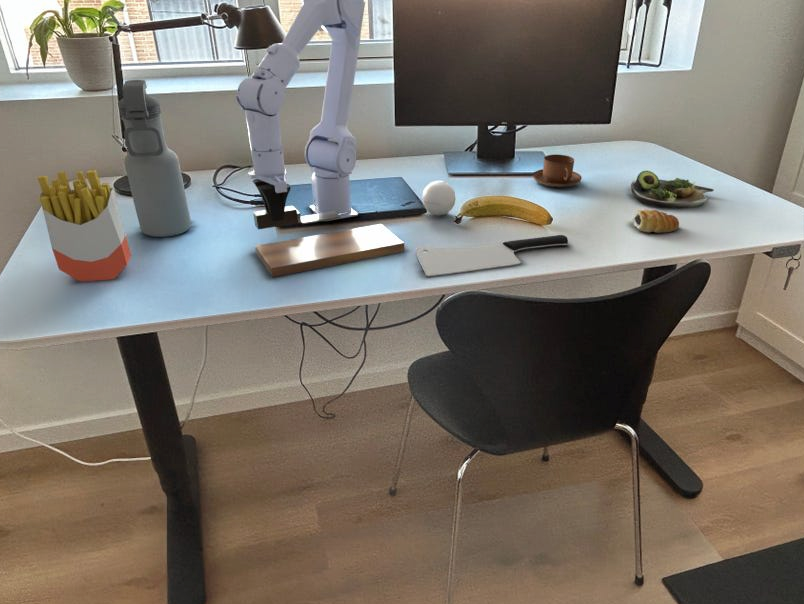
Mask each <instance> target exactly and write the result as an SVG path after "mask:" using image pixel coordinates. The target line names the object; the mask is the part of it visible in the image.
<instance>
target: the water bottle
mask: <svg viewBox="0 0 804 604" xmlns="http://www.w3.org/2000/svg"><path fill="white" fill-rule="evenodd" d="M147 86H148V85H147V82H146V80H145V79H130V80H125V81H124V83H123V85H122V97H123V98H121V99H119V101H117V107H118V110H119V113H120V116H121V118H120V119H121V120H122V121H123V125H124V129H125V130H124V131H123V137H124V138H123V139H124V141H125V145H126V146H125V147H126V150H127V152H128V153H127V154H126V155H125V157H124V160H123V163H124V168H125V172H126V176H127V180H128V186H129V188H130V192H131V196H132V201H133V204H134V208H135V214H136V217H137V220H138V224H139V229H140V231H141V232H142V233H143V234H144V235H146V236H149V237H153V238H154V237H155V238H168V237H175V236H178V235H181V234H183V233H185V232H187V231H189V229H190V228H191V227H192V219H191V215H190V210H189V204H188V199H187V195H186V189H185V185H184V180H183V175H182V170H181V169H182V168H181V165H180V161H179V157H178V154H177V153H176V152H175V151H173V150H172V149H170V148H168V145H167V141H166V136H165V133H164V132H165V131H164V126H163V121H162V117H163V115H162V109H161V104H160V100H159V99H157V98H156V97H154V96H149V95H148V93H147V91H146V89H148V87H147Z"/></svg>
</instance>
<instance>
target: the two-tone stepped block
mask: <svg viewBox="0 0 804 604" xmlns="http://www.w3.org/2000/svg"><path fill="white" fill-rule="evenodd" d="M252 214H253V221H254V226H255V227H256V228H257V230H258V231H259V230H264V229H269V228H270V229H271V228H276V227H282V226H288V225H293V224H294V225H295V224H302V225H307V224H312V223H319V222H326V221H325V220H330V221H332V220H331V219H336V220H338V219H337V218H341V216H340V215H338V214H337V213H336V212H335V211H331V212H325V213H319V214H316V213H313V214H307V215H302V216H301V212H300V211H299V210H298V209H297V208H296V207H295V206H294V205H288V206H285V213H284V219H283V220H278V221H273V220H272V218H271V215H270V212H269V210H266V209H264V210H258V211H253V212H252Z"/></svg>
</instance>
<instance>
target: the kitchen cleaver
mask: <svg viewBox="0 0 804 604" xmlns="http://www.w3.org/2000/svg"><path fill="white" fill-rule="evenodd" d="M568 244H569V238H568V237H567V236H566V235H564V234H556V235H549V236H540V237H532V238H524V239H523V238H522V239H515V240H509V241H504V242H502V243H495V244H485V245H475V246H455V247H453V246H452V247H434V246H433V247H432V246H418V247H416V248H415V254H416V257H417V259H418V263H419V264H420V266H421V267H422V270H423V272H424V275H425V276H426V277H436V276H445V275H453V274H459V273H467V272H474V271H475V272H476V271H482V270H490V269H496V268H497V269H498V268H505V267H511V266H517V265H520V264H521V260H520V259H519V258H517V256H516V255H515V253H517V252H522V251H531V250H537V249H546V248H555V247H567V246H568Z"/></svg>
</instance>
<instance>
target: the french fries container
mask: <svg viewBox="0 0 804 604" xmlns="http://www.w3.org/2000/svg"><path fill="white" fill-rule="evenodd" d="M75 174H76V176H77V179H74V180H72V186H73V189H72V188H71V185H70V182H69V180H68V177H67V174H66V171H59V172H57V178H52V179H51V184H52V185H51V184H50V181H49V178H48V175H47V174H46V175H39V176H38V177H37V181H38V183H39V186H40V189H41V191H42V192H41V193H40V194H39V201H40V204H41V207H42V208H41V209H42V212H43V216H44V220H45V223H46V229H47V233H48V237H49V241H50V246H51V249H52V252H53V255H54V259H55V262H56V264H57V267H58V270H59V271H61V272H62V273H64V274H66V275H68V276H69V277H71V278H73V279H75V280H77V281H79V282H94V281H106V280H107V281H109V280H115V279H116V278H117V277H118V275H119V274H121V272H122V271H123V270H124V269H125V268H126V267H127V266H128V264H129V262H130V259H131V258H132V253H131V250H130V246H129V242H128V237H127V234H126V230H125V226H124V222H123V219H122V216H121V215H122V214H121V212H120V207H119V204H118V200H117V197H116V192H115V188H114V187H110V183H109V182H103V183H101V180H100V177H99V174H98V171H97V169H91V170H87V171H86V172H85V175H86V178H87V180H86V178H85V175H84V172H83V171H82V170H81V171H80V170H79V171H77V172H76V173H75ZM87 181H88V182H87ZM88 183H89V185H88ZM89 186H90V187H89Z"/></svg>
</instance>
